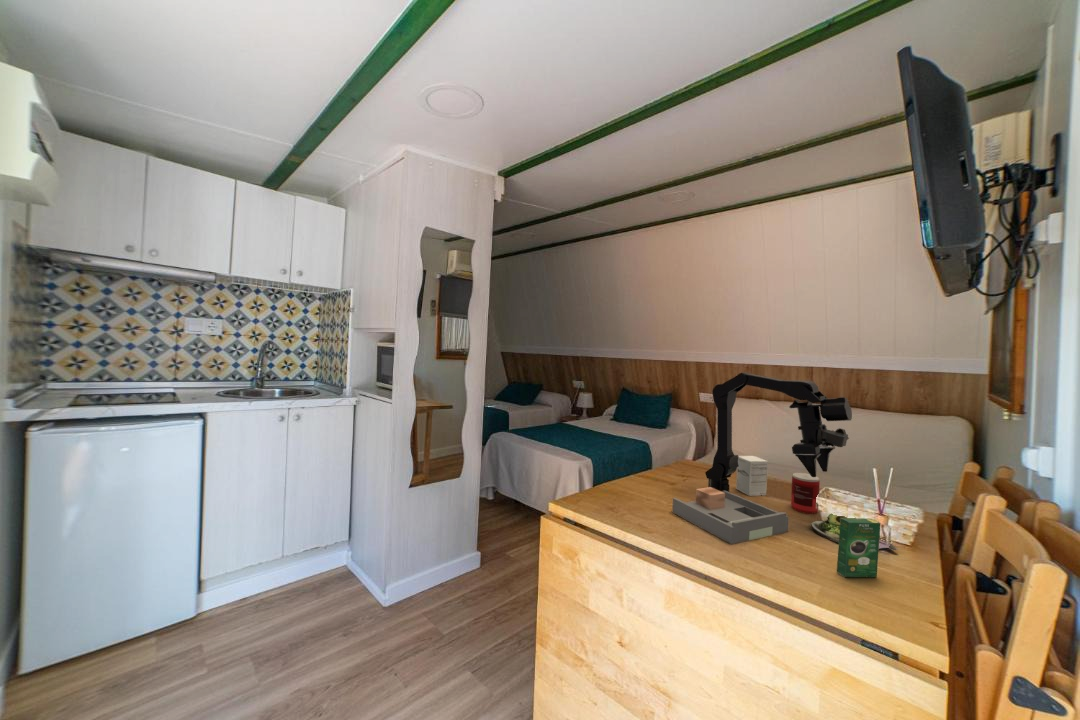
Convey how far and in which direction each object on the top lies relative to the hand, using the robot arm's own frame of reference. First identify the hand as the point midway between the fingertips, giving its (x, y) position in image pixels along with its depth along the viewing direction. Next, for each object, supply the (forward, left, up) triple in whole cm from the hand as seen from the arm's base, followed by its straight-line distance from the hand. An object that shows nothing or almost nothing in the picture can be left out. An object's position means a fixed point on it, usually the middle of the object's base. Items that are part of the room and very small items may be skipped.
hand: (819, 474), depth 127 cm
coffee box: (+23, -20, -15) cm, 34 cm away
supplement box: (-27, +5, -15) cm, 32 cm away
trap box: (-11, -25, -15) cm, 31 cm away
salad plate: (+9, +1, -16) cm, 18 cm away
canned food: (-9, +8, -15) cm, 20 cm away
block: (-18, -25, -13) cm, 33 cm away
